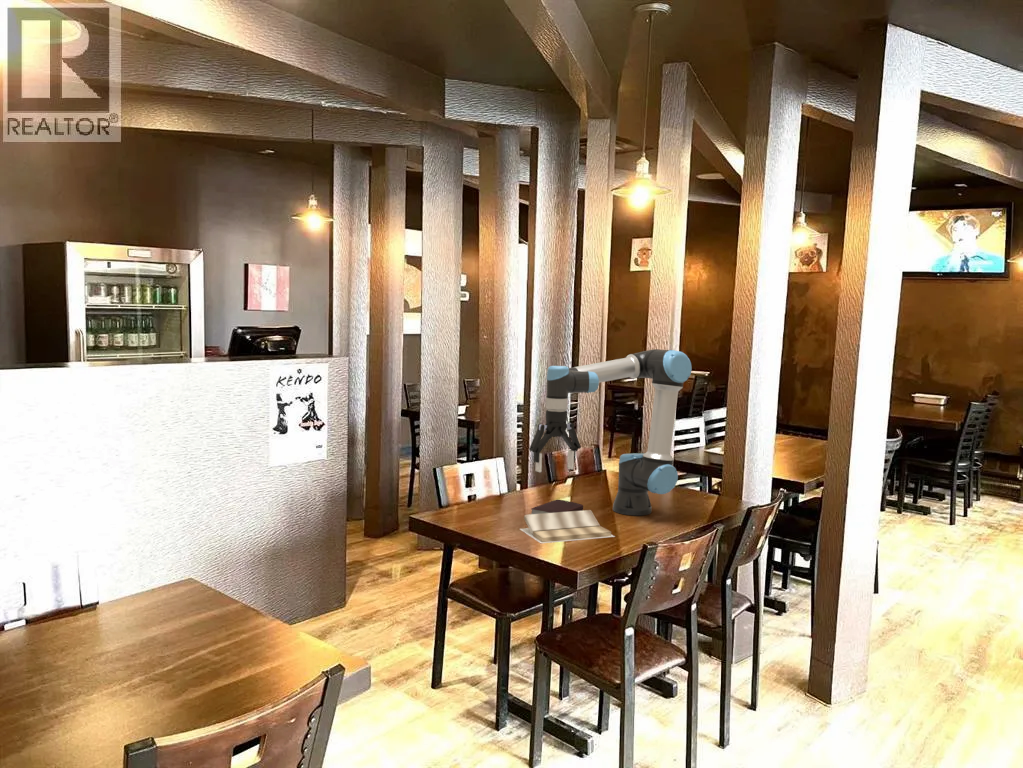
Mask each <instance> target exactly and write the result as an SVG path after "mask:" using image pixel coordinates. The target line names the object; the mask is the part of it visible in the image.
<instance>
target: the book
mask: <svg viewBox="0 0 1023 768" xmlns="http://www.w3.org/2000/svg"><path fill="white" fill-rule="evenodd" d="M530 510H531V513H530V514H543V513H556V512H570V511H583V510H584V505H583V504H580V503H577V502H575V501H569V500H564V499H555V500H551V501H549V502H545V503H543V504H540V505H537V506H534V507H531V508H530Z"/></svg>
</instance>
